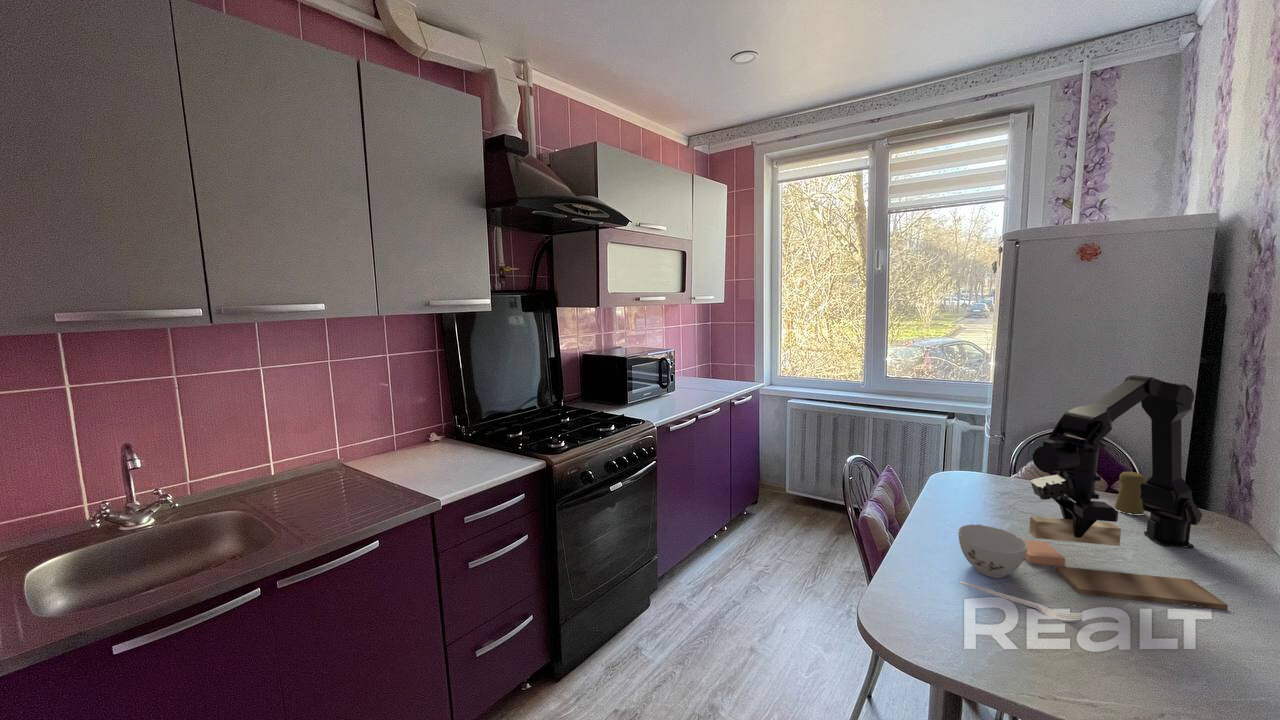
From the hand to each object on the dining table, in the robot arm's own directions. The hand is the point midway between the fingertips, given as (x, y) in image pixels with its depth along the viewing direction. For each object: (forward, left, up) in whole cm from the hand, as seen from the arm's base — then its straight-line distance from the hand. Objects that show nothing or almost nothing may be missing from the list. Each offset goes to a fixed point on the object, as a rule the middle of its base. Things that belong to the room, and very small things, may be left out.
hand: (1073, 534), depth 117 cm
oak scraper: (0, 0, -1) cm, 1 cm away
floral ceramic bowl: (+19, +9, -6) cm, 22 cm away
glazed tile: (+3, 0, -5) cm, 6 cm away
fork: (+19, +21, -7) cm, 29 cm away
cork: (-29, -33, -6) cm, 44 cm away
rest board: (-6, +11, -6) cm, 14 cm away
